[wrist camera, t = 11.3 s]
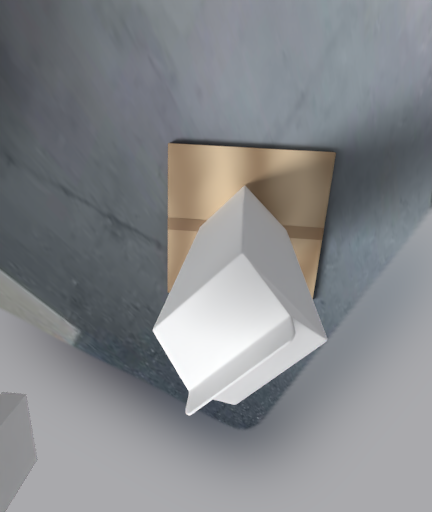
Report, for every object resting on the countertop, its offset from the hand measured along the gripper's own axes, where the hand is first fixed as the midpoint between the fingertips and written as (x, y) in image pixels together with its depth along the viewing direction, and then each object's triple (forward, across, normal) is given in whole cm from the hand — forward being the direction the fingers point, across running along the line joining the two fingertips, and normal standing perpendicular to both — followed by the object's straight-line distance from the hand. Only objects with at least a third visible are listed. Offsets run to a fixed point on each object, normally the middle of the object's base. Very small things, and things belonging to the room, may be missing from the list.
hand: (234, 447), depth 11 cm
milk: (+25, 0, 0) cm, 25 cm away
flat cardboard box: (+26, 0, 0) cm, 26 cm away
